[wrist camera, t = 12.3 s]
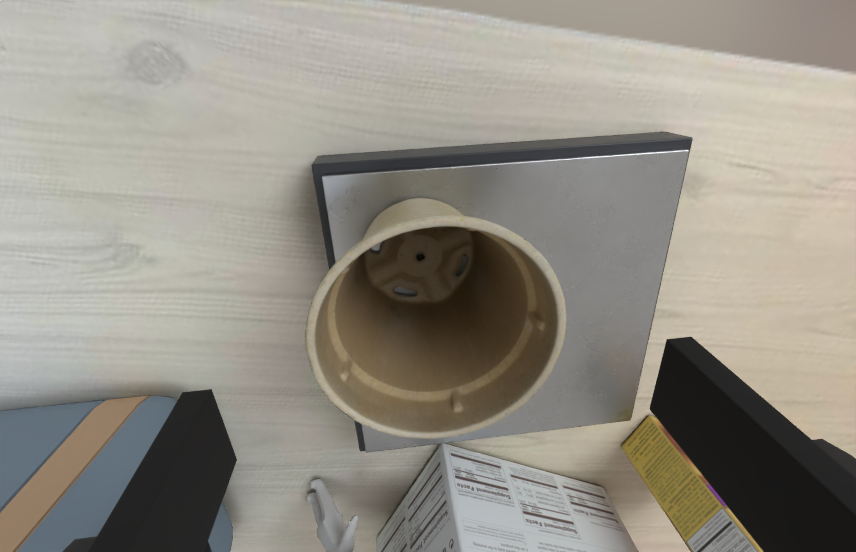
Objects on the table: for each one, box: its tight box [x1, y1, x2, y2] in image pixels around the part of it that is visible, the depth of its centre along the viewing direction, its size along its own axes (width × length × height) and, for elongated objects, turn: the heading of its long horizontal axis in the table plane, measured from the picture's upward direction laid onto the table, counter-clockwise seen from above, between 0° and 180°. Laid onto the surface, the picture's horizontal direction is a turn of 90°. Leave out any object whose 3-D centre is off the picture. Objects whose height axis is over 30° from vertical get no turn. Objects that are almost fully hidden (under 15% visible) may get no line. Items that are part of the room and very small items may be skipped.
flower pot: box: [305, 198, 566, 439], centre depth 19 cm, size 9×9×9 cm
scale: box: [312, 132, 692, 452], centre depth 27 cm, size 20×20×3 cm
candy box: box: [622, 415, 763, 552], centre depth 30 cm, size 9×4×15 cm, turn 62°
